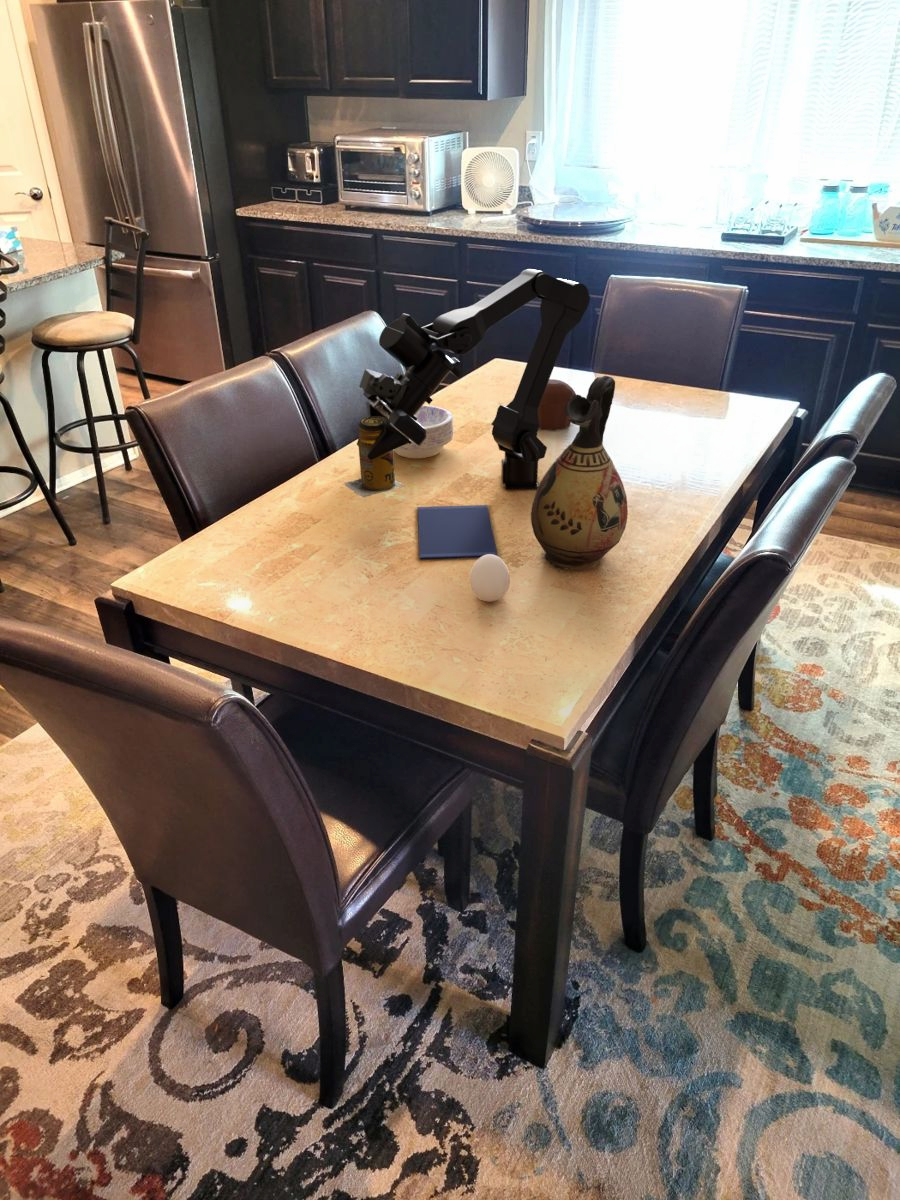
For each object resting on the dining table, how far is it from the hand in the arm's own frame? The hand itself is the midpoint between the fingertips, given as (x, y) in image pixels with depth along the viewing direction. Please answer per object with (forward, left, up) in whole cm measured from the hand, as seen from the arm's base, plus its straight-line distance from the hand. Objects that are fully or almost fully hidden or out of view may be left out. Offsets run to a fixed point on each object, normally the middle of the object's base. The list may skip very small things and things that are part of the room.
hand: (363, 452), depth 148 cm
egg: (-20, +29, -13) cm, 38 cm away
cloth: (-16, +6, -13) cm, 21 cm away
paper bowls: (-10, -34, -13) cm, 37 cm away
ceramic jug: (-36, +16, -13) cm, 41 cm away
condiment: (-1, 0, -7) cm, 7 cm away
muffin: (-41, -49, -13) cm, 65 cm away
